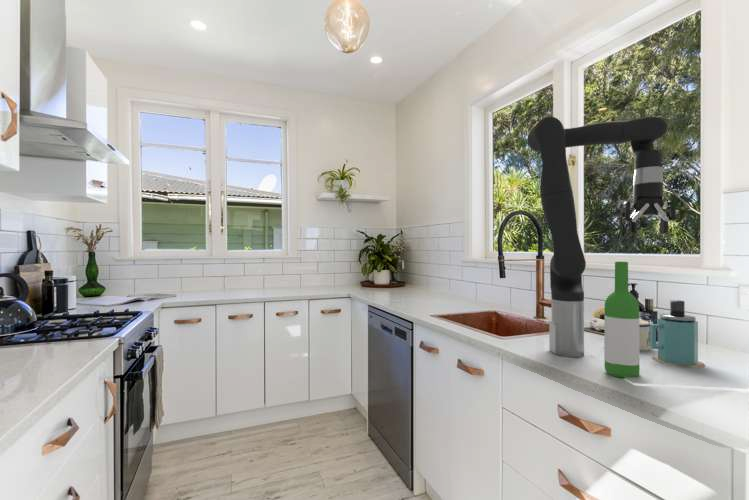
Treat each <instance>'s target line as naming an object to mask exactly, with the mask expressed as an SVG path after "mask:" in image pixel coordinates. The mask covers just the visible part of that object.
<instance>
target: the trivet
mask: <svg viewBox="0 0 749 500" xmlns="http://www.w3.org/2000/svg"><path fill="white" fill-rule="evenodd" d="M651 359H652V361H653V360H654V361H656V362H658V363H660V364H664V365H668V366H673V367H680V368H689V369H690V368H691V369H700V368H704V367H706V364H705V363H703V362H701V361H699V360H698V364H696V365H695V366H685V365H676V364H671V363H666V362H664V361H662V360H660V359H658V354H656V355H652V356H651Z"/></svg>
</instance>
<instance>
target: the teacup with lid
mask: <svg viewBox="0 0 749 500" xmlns="http://www.w3.org/2000/svg"><path fill="white" fill-rule="evenodd" d="M650 324H651V323H650V322H649V321H647V320H644V319H642V318H641V317H639V349H640V351H649V350H650Z"/></svg>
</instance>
